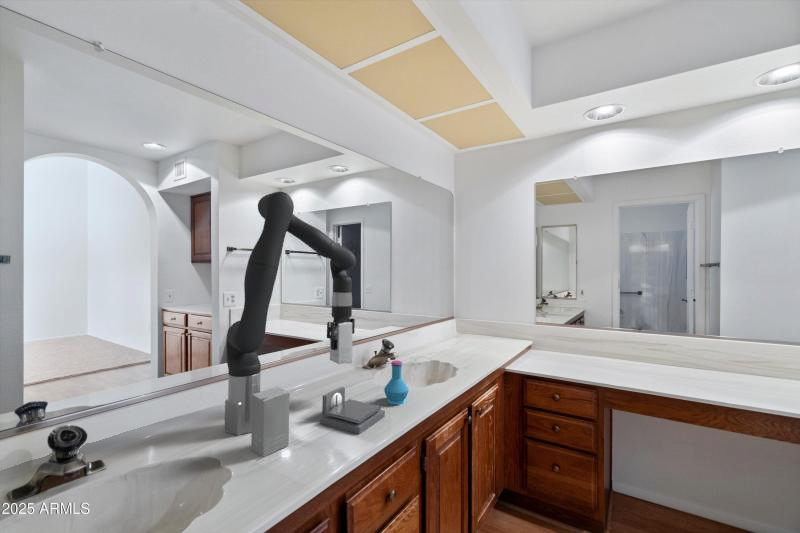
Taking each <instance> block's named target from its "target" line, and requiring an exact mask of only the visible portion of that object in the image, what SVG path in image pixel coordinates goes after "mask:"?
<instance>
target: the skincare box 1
mask: <svg viewBox="0 0 800 533" xmlns="http://www.w3.org/2000/svg"><path fill="white" fill-rule="evenodd" d="M290 395H291V393H290V391H288V390H286V389H283V388H282V387H280V386H274V387H271V388H268V389H265V390H263V391H260V392H259V393H255V394H252V432H250V433H251V436H250V437H251V439H250V441H251V443H250V444H251V446H250V447H251V450H252V451H253V452H255V453H256V454H257V455H259V456H260V457H262V458H265V457H266V456H269V455H270V454H273V453H275V452H277V451H279V450H282V449H284V448H286V447H288V446H290V445H289V438H290V434H289V433H290V398H291V397H290Z"/></svg>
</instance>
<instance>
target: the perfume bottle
mask: <svg viewBox="0 0 800 533" xmlns="http://www.w3.org/2000/svg"><path fill="white" fill-rule="evenodd" d="M403 364H404V363H403V361H401V360H392V361H391V362H390V365H391V379H390V380H389V381H388V382H387V384H386V385H385V386H384V388H383V390H384V394H385V396H386V399H387V403H388V404H391V405H394V406H395V405H403V404H404V403H405V402H406V399H407V396H408V394H409V387H408V386H407V384H406V383H405V381H404V380H403V378H402V366H403Z"/></svg>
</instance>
